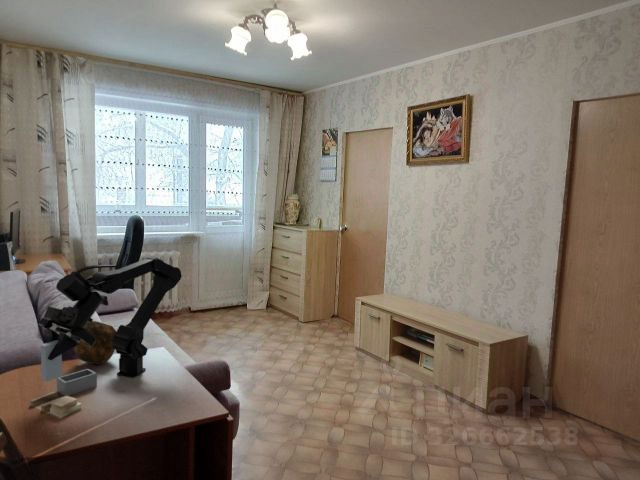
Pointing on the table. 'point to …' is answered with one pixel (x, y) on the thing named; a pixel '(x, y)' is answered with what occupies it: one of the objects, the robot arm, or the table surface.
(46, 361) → the panel
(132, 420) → the table surface
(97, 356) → the rock
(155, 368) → the table surface
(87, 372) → the holder
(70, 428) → the table surface
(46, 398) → the rack
